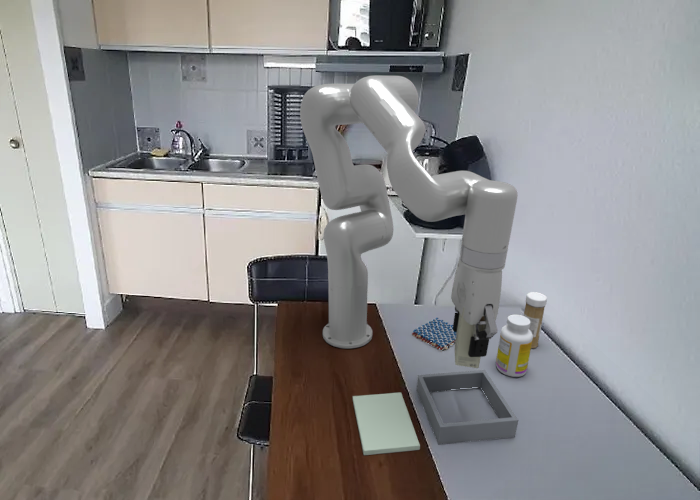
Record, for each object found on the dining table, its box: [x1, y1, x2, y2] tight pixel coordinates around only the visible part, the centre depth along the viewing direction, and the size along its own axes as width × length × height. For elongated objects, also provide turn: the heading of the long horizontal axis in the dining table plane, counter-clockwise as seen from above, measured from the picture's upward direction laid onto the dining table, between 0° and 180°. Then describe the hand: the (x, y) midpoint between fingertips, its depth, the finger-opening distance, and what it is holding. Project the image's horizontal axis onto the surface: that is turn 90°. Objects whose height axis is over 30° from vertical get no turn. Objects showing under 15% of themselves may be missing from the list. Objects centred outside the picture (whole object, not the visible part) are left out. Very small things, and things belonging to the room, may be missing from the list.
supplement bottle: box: [495, 314, 533, 378], centre depth 97 cm, size 7×7×13 cm
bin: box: [416, 369, 519, 445], centre depth 86 cm, size 15×15×4 cm
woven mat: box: [411, 317, 457, 351], centre depth 112 cm, size 10×11×2 cm
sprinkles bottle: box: [522, 291, 548, 349], centre depth 106 cm, size 5×5×14 cm
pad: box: [352, 392, 421, 456], centre depth 83 cm, size 14×10×1 cm
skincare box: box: [454, 307, 485, 369], centre depth 80 cm, size 6×4×12 cm
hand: (468, 342), depth 81 cm, fingers closed on skincare box, 7 cm apart
